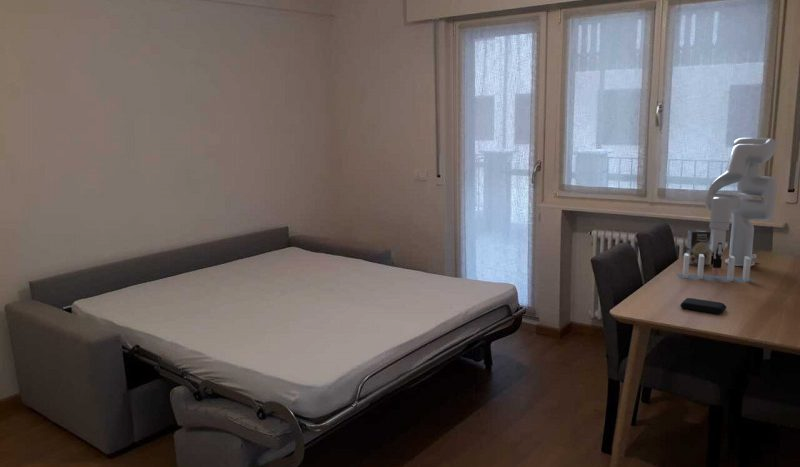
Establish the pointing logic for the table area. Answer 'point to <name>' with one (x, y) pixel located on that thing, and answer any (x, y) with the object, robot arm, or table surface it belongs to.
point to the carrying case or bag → (703, 306)
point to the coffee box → (698, 245)
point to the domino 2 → (700, 266)
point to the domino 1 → (685, 265)
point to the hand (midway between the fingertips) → (715, 265)
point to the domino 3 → (731, 268)
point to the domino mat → (715, 278)
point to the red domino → (715, 270)
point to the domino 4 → (746, 268)
